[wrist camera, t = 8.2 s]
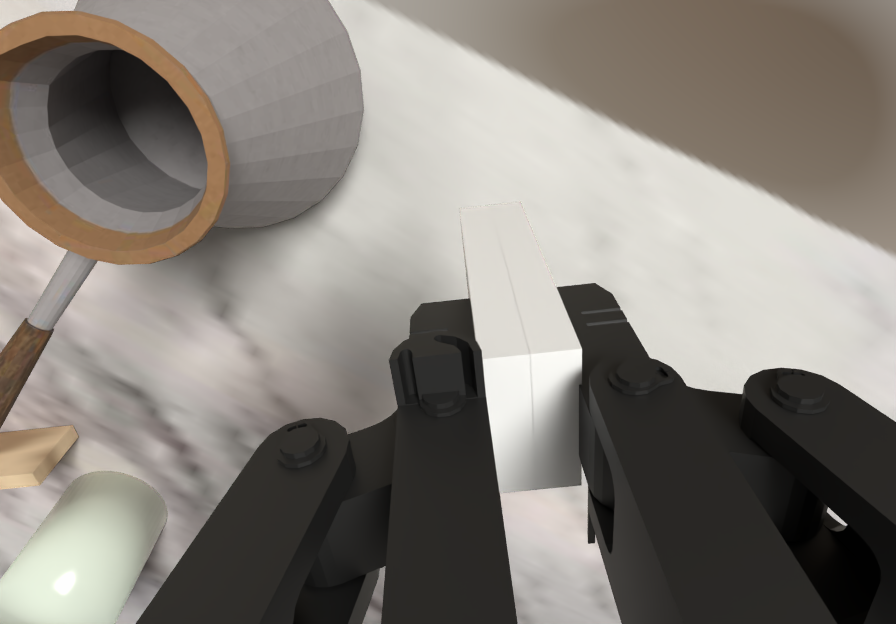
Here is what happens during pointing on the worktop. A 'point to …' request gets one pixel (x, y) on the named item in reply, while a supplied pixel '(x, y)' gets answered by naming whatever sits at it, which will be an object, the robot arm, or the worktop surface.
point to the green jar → (85, 553)
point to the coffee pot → (165, 132)
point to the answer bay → (32, 454)
